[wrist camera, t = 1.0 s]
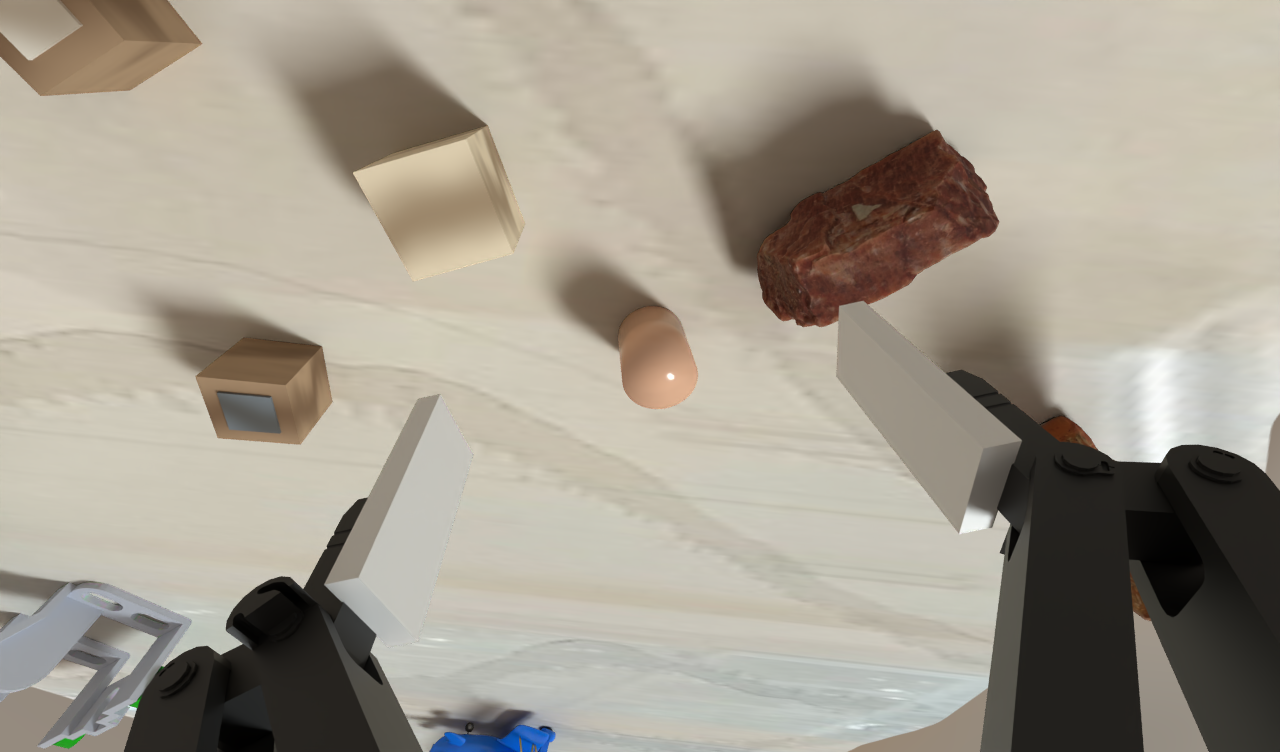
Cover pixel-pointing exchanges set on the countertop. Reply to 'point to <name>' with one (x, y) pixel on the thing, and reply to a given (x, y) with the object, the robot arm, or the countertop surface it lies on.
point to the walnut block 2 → (266, 391)
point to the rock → (874, 232)
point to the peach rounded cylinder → (655, 358)
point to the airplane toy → (496, 741)
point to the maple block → (445, 203)
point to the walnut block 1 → (91, 42)
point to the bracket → (58, 633)
